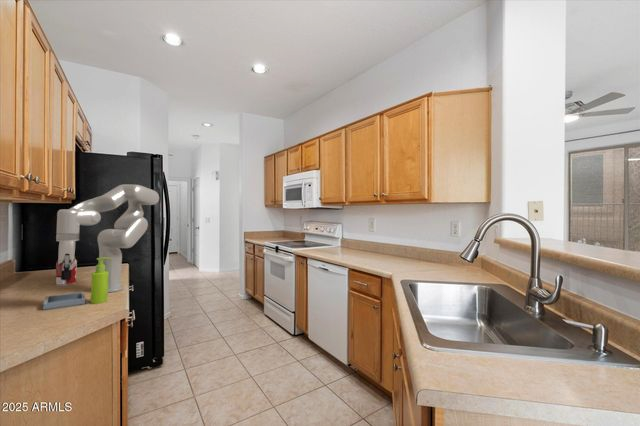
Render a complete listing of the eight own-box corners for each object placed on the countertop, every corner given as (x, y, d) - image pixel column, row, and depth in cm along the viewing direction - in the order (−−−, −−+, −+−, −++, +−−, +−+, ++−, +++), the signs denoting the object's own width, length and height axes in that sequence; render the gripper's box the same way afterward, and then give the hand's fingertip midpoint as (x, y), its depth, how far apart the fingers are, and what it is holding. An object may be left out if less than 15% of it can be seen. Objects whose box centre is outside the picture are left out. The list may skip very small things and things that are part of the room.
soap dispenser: (109, 302, 127) (111, 258, 127) (89, 304, 124) (91, 259, 124) (110, 298, 132) (112, 256, 132) (91, 300, 128) (93, 257, 129)
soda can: (63, 287, 120) (64, 259, 120) (51, 285, 121) (52, 258, 121) (80, 283, 127) (80, 256, 127) (68, 282, 128) (69, 255, 128)
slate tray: (45, 302, 124) (45, 296, 124) (83, 297, 133) (84, 291, 133) (43, 310, 115) (43, 304, 115) (84, 304, 123) (85, 298, 123)
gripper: (57, 235, 128) (55, 275, 128) (55, 239, 115) (53, 283, 115) (78, 235, 133) (77, 273, 133) (79, 238, 120) (77, 280, 120)
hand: (66, 277), depth 124 cm, fingers closed on soda can, 6 cm apart
